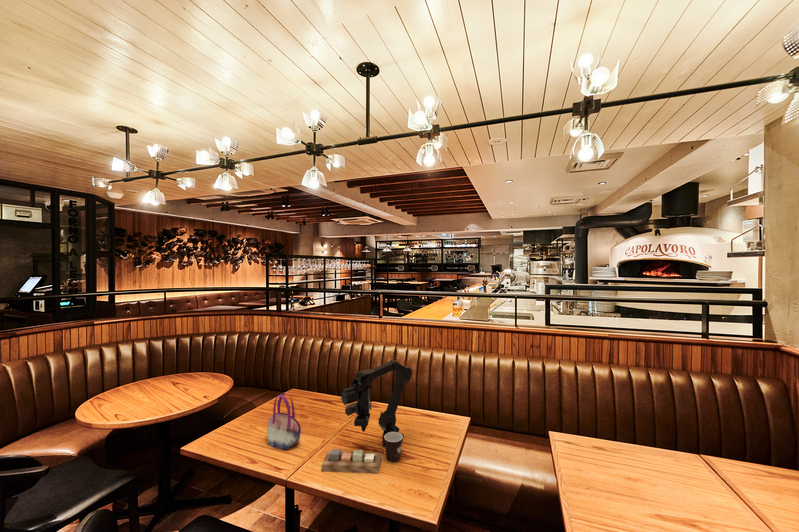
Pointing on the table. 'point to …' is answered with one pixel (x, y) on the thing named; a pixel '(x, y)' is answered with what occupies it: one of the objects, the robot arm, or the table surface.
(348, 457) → the pink cube
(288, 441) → the handbag
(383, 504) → the table surface
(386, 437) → the coffee mug
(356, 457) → the key sage
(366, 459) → the key ivory
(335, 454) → the gray cube
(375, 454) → the key bezel
